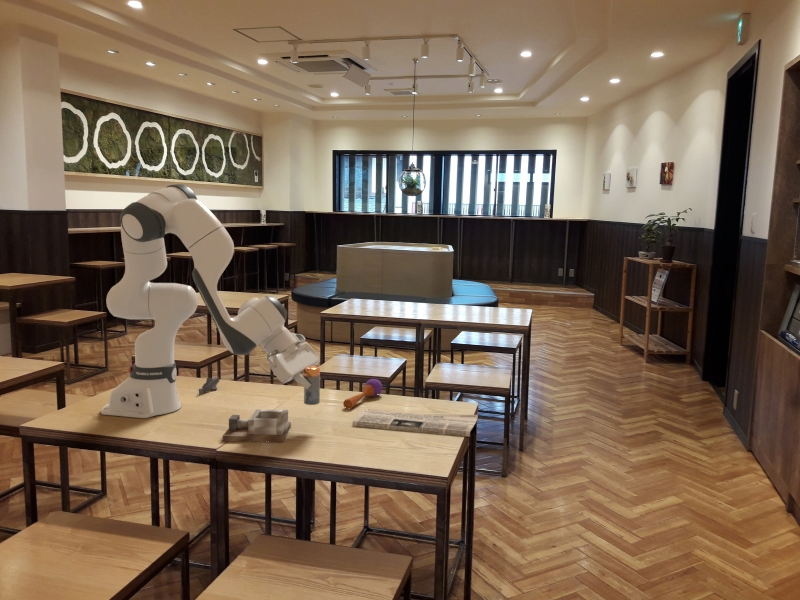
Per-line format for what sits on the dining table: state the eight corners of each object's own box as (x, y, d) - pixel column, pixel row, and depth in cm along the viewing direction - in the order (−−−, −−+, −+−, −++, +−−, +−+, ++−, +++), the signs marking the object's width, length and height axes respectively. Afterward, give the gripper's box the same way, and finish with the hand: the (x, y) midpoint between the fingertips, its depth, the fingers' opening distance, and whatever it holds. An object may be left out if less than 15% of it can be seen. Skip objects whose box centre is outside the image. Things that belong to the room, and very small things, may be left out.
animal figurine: (205, 399, 201) (204, 385, 199) (194, 398, 202) (192, 384, 200) (225, 384, 212) (223, 371, 210) (213, 383, 213) (212, 370, 211)
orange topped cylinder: (302, 404, 168) (303, 370, 167) (305, 399, 173) (305, 366, 171) (318, 405, 169) (318, 370, 167) (320, 400, 173) (320, 366, 171)
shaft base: (222, 441, 160) (222, 421, 159) (234, 425, 172) (234, 407, 171) (282, 442, 160) (282, 422, 159) (290, 427, 172) (290, 408, 171)
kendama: (338, 395, 191) (368, 377, 208) (341, 413, 191) (371, 393, 209) (354, 395, 188) (383, 376, 206) (357, 413, 189) (386, 392, 206)
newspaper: (352, 427, 174) (352, 416, 173) (363, 414, 186) (363, 403, 186) (474, 439, 167) (475, 426, 167) (478, 424, 179) (478, 413, 179)
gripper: (271, 347, 160) (305, 387, 159) (305, 333, 180) (335, 368, 178) (256, 362, 162) (289, 401, 161) (291, 346, 182) (321, 381, 180)
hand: (313, 384), depth 170 cm, fingers closed on orange topped cylinder, 4 cm apart
